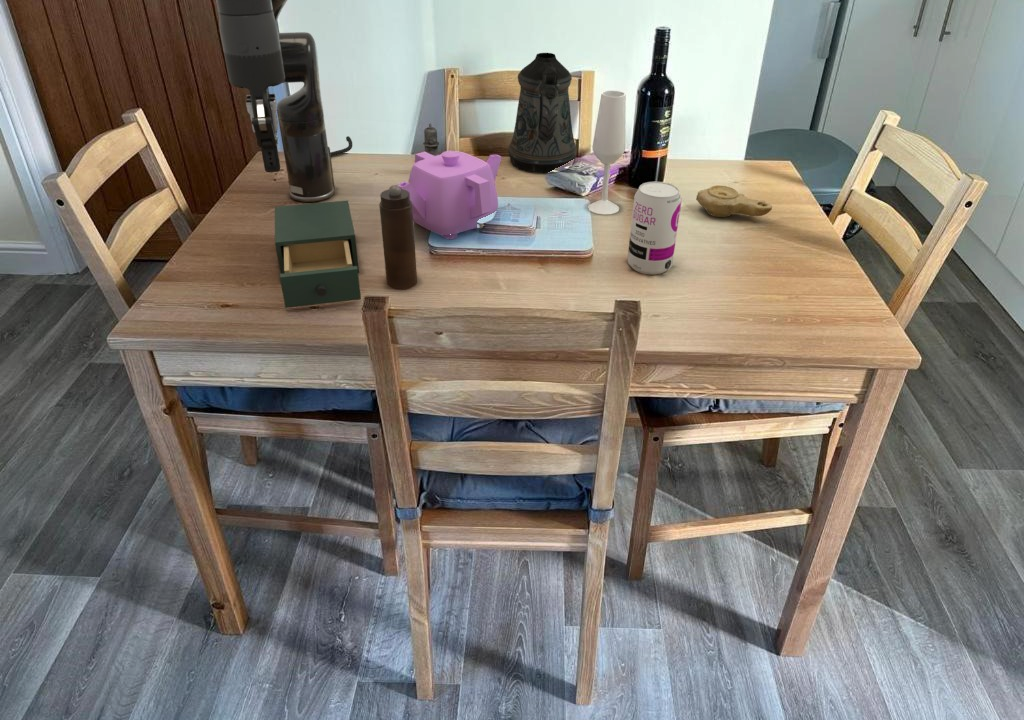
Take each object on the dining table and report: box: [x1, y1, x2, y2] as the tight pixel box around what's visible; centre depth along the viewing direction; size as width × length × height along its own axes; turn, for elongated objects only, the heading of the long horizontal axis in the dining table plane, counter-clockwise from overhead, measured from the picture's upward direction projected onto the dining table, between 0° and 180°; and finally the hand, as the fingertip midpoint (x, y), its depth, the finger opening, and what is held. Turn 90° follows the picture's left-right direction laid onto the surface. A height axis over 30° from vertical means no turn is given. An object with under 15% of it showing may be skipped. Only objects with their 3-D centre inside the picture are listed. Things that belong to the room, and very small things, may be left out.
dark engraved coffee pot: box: [507, 52, 578, 174], centre depth 177 cm, size 16×19×25 cm
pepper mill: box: [378, 184, 418, 291], centre depth 130 cm, size 5×5×18 cm
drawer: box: [279, 239, 362, 309], centre depth 131 cm, size 16×12×6 cm
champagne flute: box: [587, 89, 627, 215], centre depth 156 cm, size 7×7×24 cm
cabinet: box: [274, 199, 360, 274], centre depth 140 cm, size 16×14×8 cm
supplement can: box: [627, 181, 683, 276], centre depth 137 cm, size 8×8×15 cm
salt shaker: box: [422, 123, 440, 156], centre depth 174 cm, size 6×6×12 cm
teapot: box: [396, 150, 502, 240], centre depth 151 cm, size 19×18×15 cm
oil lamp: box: [695, 184, 773, 218], centre depth 160 cm, size 11×14×5 cm
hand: (273, 170), depth 113 cm, fingers closed
